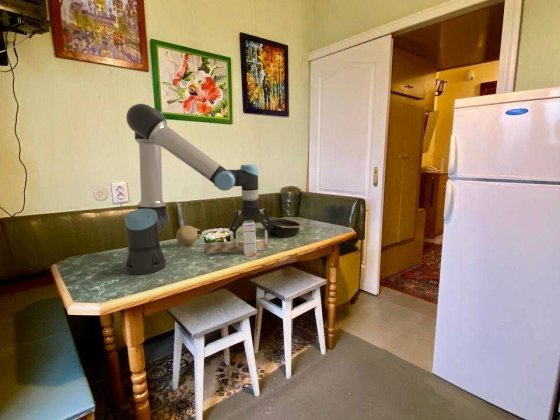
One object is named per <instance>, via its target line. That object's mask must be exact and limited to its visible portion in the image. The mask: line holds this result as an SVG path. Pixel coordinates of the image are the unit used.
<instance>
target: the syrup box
mask: <svg viewBox="0 0 560 420" xmlns="http://www.w3.org/2000/svg"><path fill="white" fill-rule="evenodd" d="M241 226H242V227H241V228H242V241H243V248H244V251H243V254H244V255H247V254H257V250H256V240H257V237H256V223H255V220H245V221H244V222H243V223H242V224H241Z"/></svg>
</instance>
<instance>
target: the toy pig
mask: <svg viewBox="0 0 560 420" xmlns="http://www.w3.org/2000/svg"><path fill="white" fill-rule="evenodd" d="M175 236H176V241H177V243H178V244H179V245H181V247H185V246H186V247H194V245H195V244H196V242H197V241H198V240H199V239H200V238H201V237H202V231H201V229H199V228H197V227H194V226H192V225H183V226H180V228H178V229H177V231H176V234H175Z"/></svg>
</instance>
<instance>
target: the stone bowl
mask: <svg viewBox="0 0 560 420" xmlns="http://www.w3.org/2000/svg"><path fill="white" fill-rule="evenodd" d="M267 216H268V215H267ZM268 218H269V220H270V222H271V224H272V226H273V229H270V230H269V235H273V234H274V235H276V236H277V237H278V238H279V237H280V238H285V237H287V238H288V237H291V236H296V235H297V233H298V232H299V230H300V228H302V227H304V226H306V223H305V222H302V221H300V220H297V219H292V218H284V217H283V218H282V217H281V218H278V217H276V216H273V215H270V216H268ZM261 219H262V221H263V222H264V223H265V224H266V225H267V226H269V224H268V222H267V220H266V218H264V219H263V218H261Z"/></svg>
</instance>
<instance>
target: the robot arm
mask: <svg viewBox="0 0 560 420" xmlns="http://www.w3.org/2000/svg"><path fill="white" fill-rule="evenodd" d="M126 123H127V125H128V127H129V128H130V129H131V130H132V131H133V132H134V140H135V142H137V144H138V146H139V147H138V151H139V173H140V174H139V177H140V201H139V202H138V203H137V209H135V210H131V211H129V212H127V214H125V217H124V218H125V220H124V225H125V232H126V240H127V241H126V242H127V249H128V254H127V257H126V261H125V267H124V268H125V272H126V273H127V274H128V275H133V276H134V275H135V276H137V275H138V276H139V275H150V274H152V273H153V274H154V273H157V272H159V271H161V270H163V269H165V268H166V267H167V260H166V258H165V255H164V253H163V251H162V249H161V245H160V244H161V243H160V234H161V233H162V232H163V231H164V230H166V228H167V226H168V225H169V221H170V215H169V213H168V211H167V203H166V202H165V201H164V200H163V174H162V171H163V170H162V165H163V164H162V148H163V149H164V150H166V151H167V152H169V153H170V154H172V155H173V156H175V157H176V158H177V159H178V160H179V161H181V162H183V163H184V164H186V165H187V166H189V167H190V168H192V169H193V170H194V171H196V173H199V174H200V175H201V176H202V177H203V178H205V179H207V180H208V181H209V182H211V183H212V184H213V186H214V187H216V188H217V189H218V190H220V191H224V192H226V191H229V190H231V189H232V188H234V187H241V199H242V200H241V208H242V210H238V209H236V210H234V212H235V215H234V217H233V219H232V221H231V223H230V226H229V227H228V230H229V232H232V236H233V239H234V240H235V241H236V246H238V241H239V237H238V235H239V234H238V229H239V228H240V227H241V226H242V223H243V222H244V221H251V220H252V221H255V220H256V219H257V221H258V222H259V223H260V224H261V225H262V226H263V227H264V228H265V229H264V239H265V244H267V240H268V237H270V234H269V230H270V229H273V226H272V224H271V222H270V220H269V218H268V214H267V210H266V209H265V208H262V209H260V205H259V204H260V201H259V171H258V166H257V165H256V164H241V165H240V168H238V169H226V168H225V167H224V166H222V165H221V164H220V163H218V162H217V161H215V160H214V159H212V158H211V157H210V156H209V155H207V154H206V153H204V152H203V151H201V150H200V149H199V148H197V147H196V146H194V144H192V143H191V142H190V141H188V140H187V139H185V137H182V136H181V135H180V134H178V132H176V131H174V130H173V129H171V128H170V127H169V126H168V121H167V119H166V117H165V116H164V114H163V113H162V112H161V111H160V110H158V109H157V108H153V107H152V106H151V105H149V104H145V103H137V104H136V103H135V104H134V105H132V106H131V107H129V108H128V110H127V112H126ZM260 213H261V215H263V217H264V219H266V220H267V222H268V224H269V226H267V224H265V223H264V222H263V220H262V219H263V218H261V217H260V216H259V215H260ZM241 214H242V216H241V219H240V220H239V221H238V222H236V221H237V220H238V217H239V216H240V215H241ZM236 223H237V224H236Z"/></svg>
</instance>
